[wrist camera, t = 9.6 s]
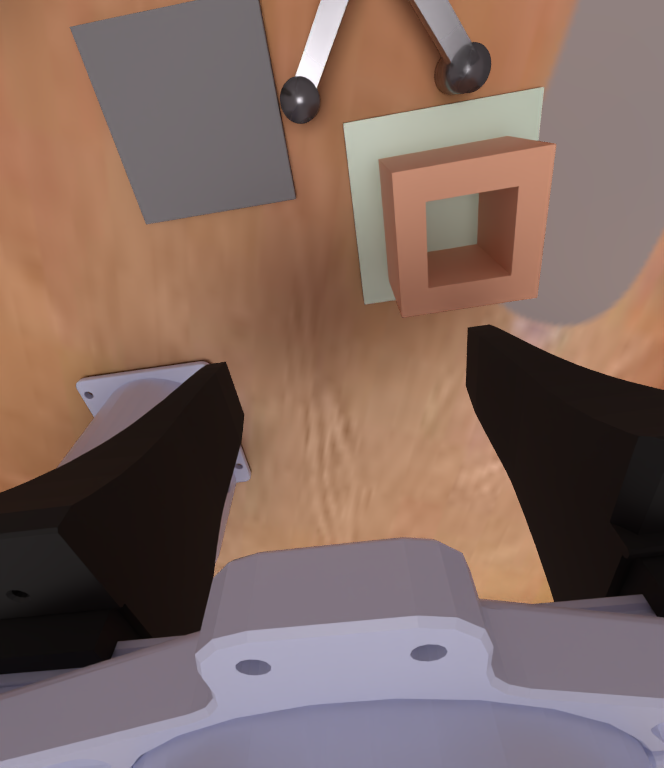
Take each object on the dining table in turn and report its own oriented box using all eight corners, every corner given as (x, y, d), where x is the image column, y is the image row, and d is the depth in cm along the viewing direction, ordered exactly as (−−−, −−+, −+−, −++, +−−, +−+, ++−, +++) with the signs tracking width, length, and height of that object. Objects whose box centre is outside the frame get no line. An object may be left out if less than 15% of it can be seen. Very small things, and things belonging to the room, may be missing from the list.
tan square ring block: (498, 263, 20) (537, 297, 17) (388, 280, 21) (402, 317, 17) (507, 135, 17) (556, 143, 14) (378, 159, 18) (391, 173, 14)
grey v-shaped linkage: (469, 91, 17) (489, 89, 15) (289, 124, 17) (284, 126, 15) (475, -129, 13) (502, -172, 11) (253, -80, 14) (240, -111, 12)
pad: (520, 278, 21) (523, 281, 21) (364, 301, 22) (364, 304, 21) (539, 87, 17) (544, 87, 16) (343, 123, 17) (343, 123, 17)
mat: (296, 197, 19) (295, 199, 18) (149, 222, 19) (146, 224, 19) (257, -10, 15) (255, -13, 15) (75, 28, 15) (69, 26, 15)
